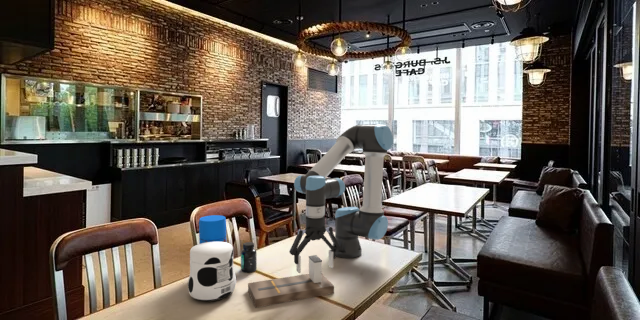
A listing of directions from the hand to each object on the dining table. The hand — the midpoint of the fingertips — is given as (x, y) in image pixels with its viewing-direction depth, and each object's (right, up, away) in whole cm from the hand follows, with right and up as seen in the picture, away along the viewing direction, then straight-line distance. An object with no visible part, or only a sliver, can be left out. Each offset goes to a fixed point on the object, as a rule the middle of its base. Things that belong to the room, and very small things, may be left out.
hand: (315, 269), depth 139 cm
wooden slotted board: (-9, -8, -3) cm, 12 cm away
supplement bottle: (-30, -6, +18) cm, 35 cm away
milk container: (-39, -8, -5) cm, 40 cm away
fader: (0, -4, 0) cm, 4 cm away
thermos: (-43, -7, +11) cm, 45 cm away
